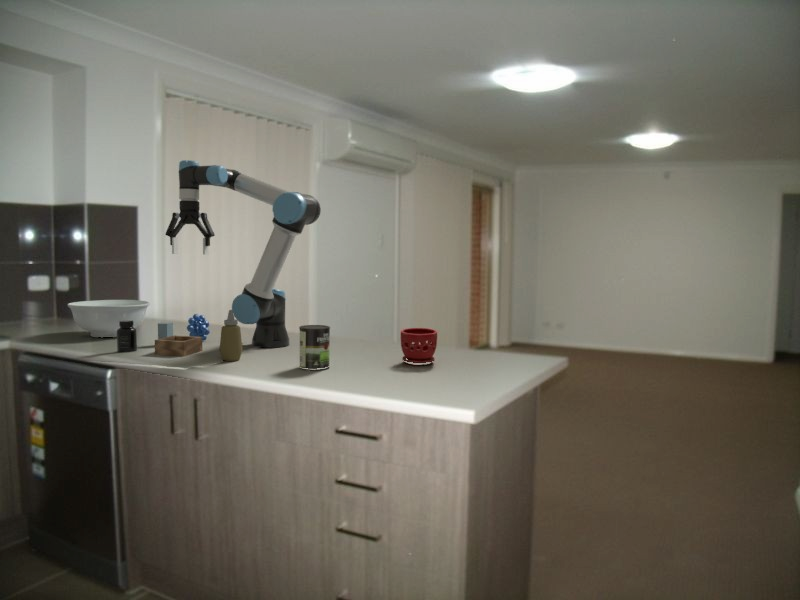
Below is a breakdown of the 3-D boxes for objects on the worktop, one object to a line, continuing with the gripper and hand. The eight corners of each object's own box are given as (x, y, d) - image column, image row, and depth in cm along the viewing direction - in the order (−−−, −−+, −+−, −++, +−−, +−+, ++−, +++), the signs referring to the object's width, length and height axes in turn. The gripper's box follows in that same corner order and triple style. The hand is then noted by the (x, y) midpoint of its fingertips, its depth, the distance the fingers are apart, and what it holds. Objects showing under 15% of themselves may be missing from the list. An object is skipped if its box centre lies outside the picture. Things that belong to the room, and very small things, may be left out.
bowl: (124, 328, 293) (124, 297, 292) (165, 335, 275) (164, 302, 273) (54, 335, 267) (53, 302, 266) (93, 344, 249) (92, 307, 247)
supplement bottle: (141, 352, 233) (140, 320, 231) (126, 355, 226) (125, 322, 225) (128, 350, 235) (127, 319, 234) (112, 353, 229) (112, 321, 228)
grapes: (195, 345, 250) (194, 315, 249) (183, 343, 254) (183, 314, 252) (216, 341, 260) (216, 313, 259) (205, 339, 264) (204, 311, 263)
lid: (189, 346, 249) (189, 321, 248) (171, 351, 236) (170, 325, 235) (160, 344, 252) (160, 320, 251) (140, 349, 239) (140, 324, 238)
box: (202, 352, 233) (202, 337, 233) (184, 358, 222) (183, 341, 221) (174, 350, 236) (174, 335, 236) (154, 356, 225) (154, 340, 224)
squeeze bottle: (221, 362, 215) (221, 311, 214) (217, 358, 222) (216, 309, 221) (245, 361, 219) (244, 310, 217) (239, 357, 226) (239, 308, 224)
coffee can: (335, 367, 212) (336, 326, 210) (316, 372, 203) (316, 329, 201) (312, 363, 217) (312, 323, 216) (292, 368, 208) (292, 326, 207)
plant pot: (394, 361, 224) (394, 328, 223) (427, 359, 229) (427, 327, 228) (408, 368, 212) (409, 333, 211) (443, 365, 217) (443, 332, 216)
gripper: (222, 201, 246) (223, 254, 248) (166, 201, 251) (167, 253, 253) (213, 199, 239) (213, 254, 241) (155, 199, 244) (156, 253, 246)
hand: (190, 254), depth 247 cm, fingers open, 13 cm apart
